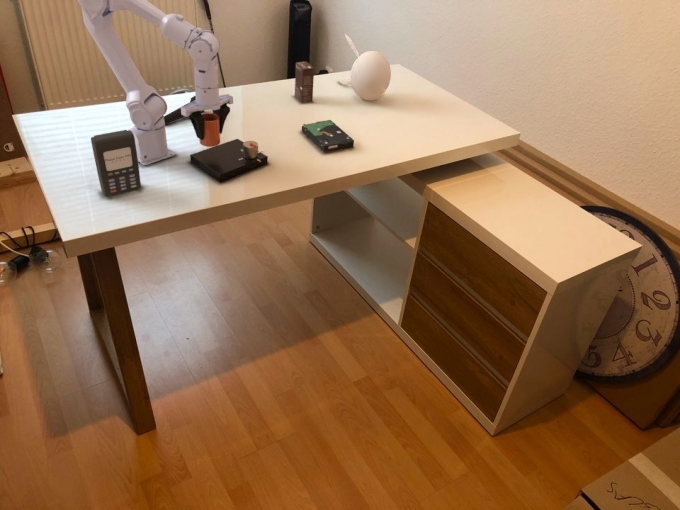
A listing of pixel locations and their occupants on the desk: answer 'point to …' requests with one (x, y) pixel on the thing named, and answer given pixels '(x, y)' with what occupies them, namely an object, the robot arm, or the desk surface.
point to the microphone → (177, 114)
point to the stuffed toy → (368, 74)
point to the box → (304, 82)
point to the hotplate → (226, 161)
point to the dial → (250, 149)
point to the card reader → (116, 162)
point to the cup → (211, 130)
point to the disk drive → (327, 136)
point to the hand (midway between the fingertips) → (209, 135)
